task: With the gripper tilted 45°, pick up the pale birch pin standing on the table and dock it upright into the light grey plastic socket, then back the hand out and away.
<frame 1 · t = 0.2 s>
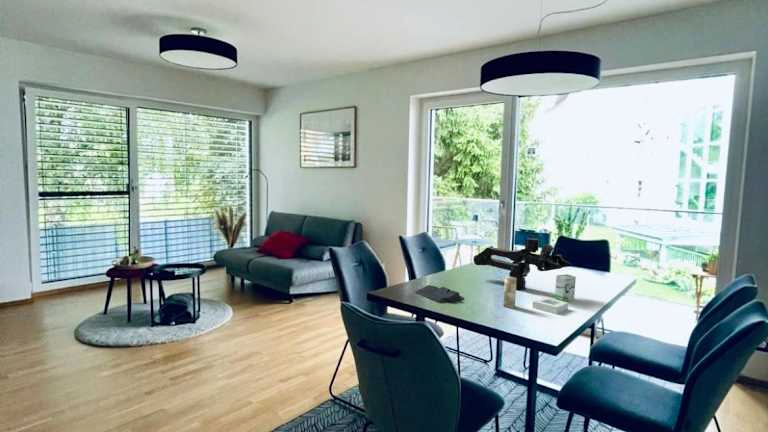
hand: (566, 266, 203), 17 cm above the table, tool horizontal, fingers open, 9 cm apart
dark slate chunk: (438, 297, 205), on the table
birch pin: (509, 306, 192), on the table
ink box: (564, 300, 205), on the table
grey socket: (550, 308, 190), on the table
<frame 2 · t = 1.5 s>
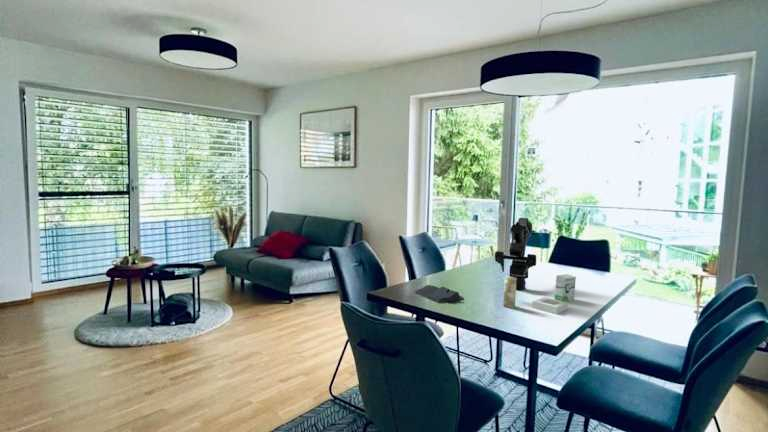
hand: (513, 273, 198), 14 cm above the table, tool tilted 45°, fingers open, 9 cm apart
nothing on the table moved.
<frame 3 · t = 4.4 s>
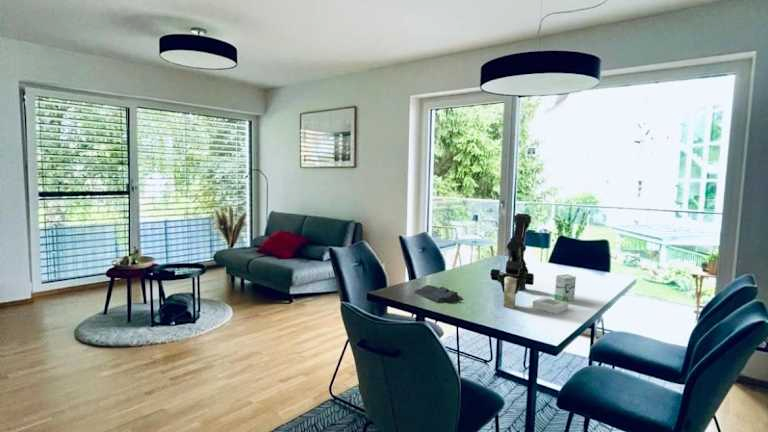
hand: (509, 292, 190), 7 cm above the table, tool tilted 45°, fingers closed on birch pin, 5 cm apart
birch pin: (509, 306, 192), on the table, touching gripper
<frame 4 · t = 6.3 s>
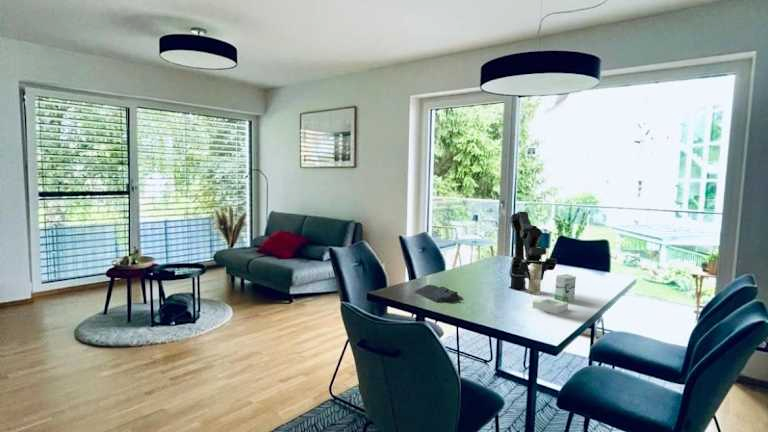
hand: (535, 279, 187), 13 cm above the table, tool tilted 45°, fingers closed on birch pin, 5 cm apart
birch pin: (533, 293, 189), point 7 cm above the table, touching gripper
when the fingers open (8 cm above the table, at t = 8.5 s): birch pin drops 1 cm, resting in grey socket.
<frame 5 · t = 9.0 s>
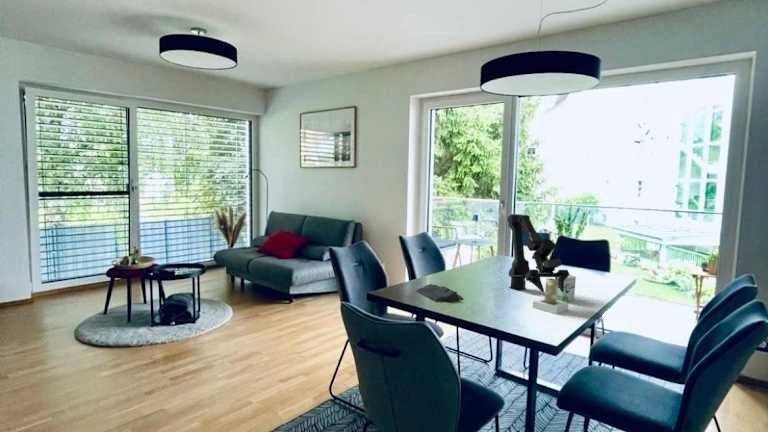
hand: (553, 291, 188), 8 cm above the table, tool tilted 45°, fingers open, 9 cm apart
birch pin: (550, 308, 191), resting in grey socket
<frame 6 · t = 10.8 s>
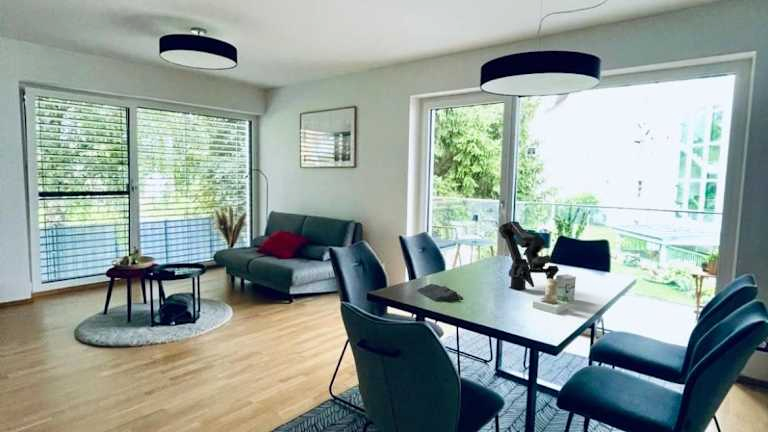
hand: (542, 286, 197), 8 cm above the table, tool tilted 45°, fingers open, 9 cm apart
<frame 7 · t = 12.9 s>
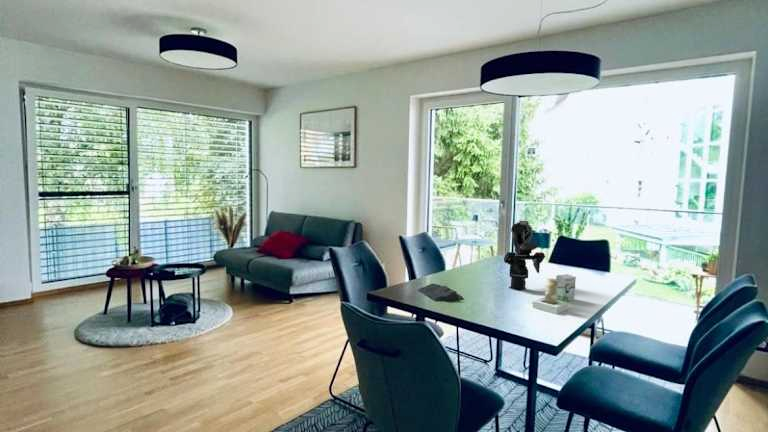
hand: (529, 272, 200), 14 cm above the table, tool tilted 45°, fingers open, 9 cm apart
at the end: birch pin 0.1 cm off-centre on the grey socket, point 0.0 cm above the grey socket's base; birch pin tilted 0°; the gripper is holding nothing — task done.
